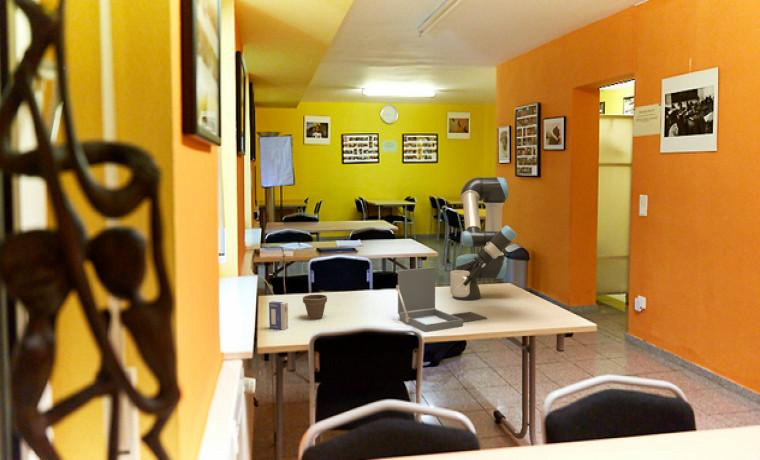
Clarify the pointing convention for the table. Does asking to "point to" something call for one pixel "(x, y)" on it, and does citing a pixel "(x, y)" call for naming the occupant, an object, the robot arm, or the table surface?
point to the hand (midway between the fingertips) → (455, 286)
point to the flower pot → (315, 305)
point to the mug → (456, 280)
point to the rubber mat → (469, 316)
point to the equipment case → (421, 300)
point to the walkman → (278, 315)
